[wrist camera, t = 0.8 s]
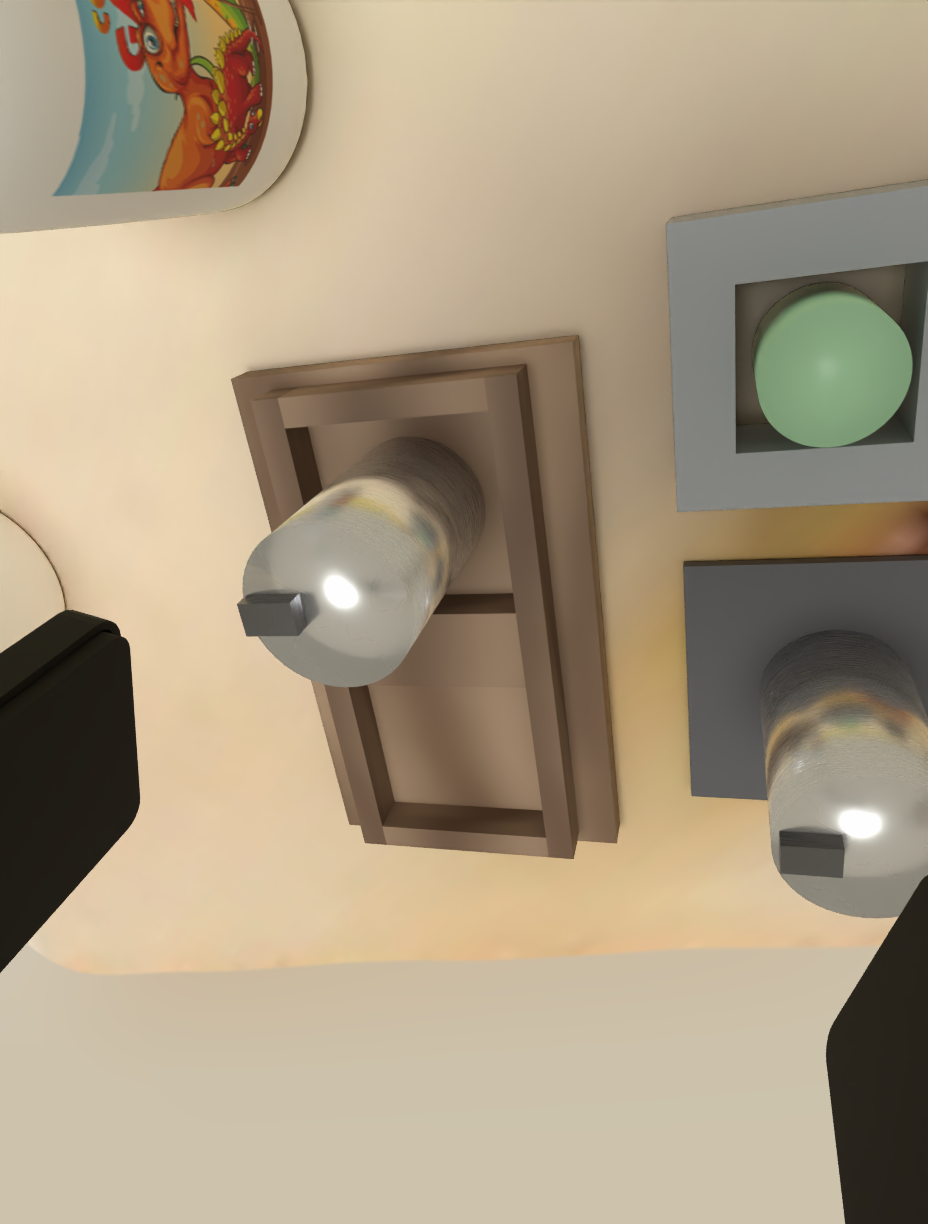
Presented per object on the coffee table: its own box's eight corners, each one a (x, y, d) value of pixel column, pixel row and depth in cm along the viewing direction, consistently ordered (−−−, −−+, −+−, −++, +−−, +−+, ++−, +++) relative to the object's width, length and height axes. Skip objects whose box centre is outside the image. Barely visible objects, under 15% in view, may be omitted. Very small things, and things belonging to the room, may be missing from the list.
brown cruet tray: (578, 335, 27) (564, 352, 24) (619, 823, 35) (612, 871, 33) (247, 372, 30) (207, 390, 28) (359, 807, 39) (335, 849, 36)
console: (984, 171, 22) (1019, 172, 19) (951, 464, 25) (977, 497, 23) (671, 217, 24) (666, 224, 22) (680, 479, 28) (677, 512, 25)
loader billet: (474, 431, 28) (386, 527, 20) (494, 568, 30) (421, 700, 23) (337, 441, 29) (210, 536, 22) (366, 572, 31) (258, 697, 24)
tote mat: (1013, 552, 26) (1017, 557, 26) (975, 803, 31) (977, 811, 30) (683, 562, 29) (683, 566, 29) (691, 789, 34) (691, 796, 33)
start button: (890, 274, 23) (919, 293, 20) (881, 405, 24) (906, 442, 21) (752, 291, 24) (757, 312, 21) (751, 415, 26) (756, 452, 22)
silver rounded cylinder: (919, 629, 28) (992, 796, 20) (907, 752, 30) (968, 943, 23) (759, 630, 29) (773, 786, 22) (758, 747, 31) (771, 925, 24)
